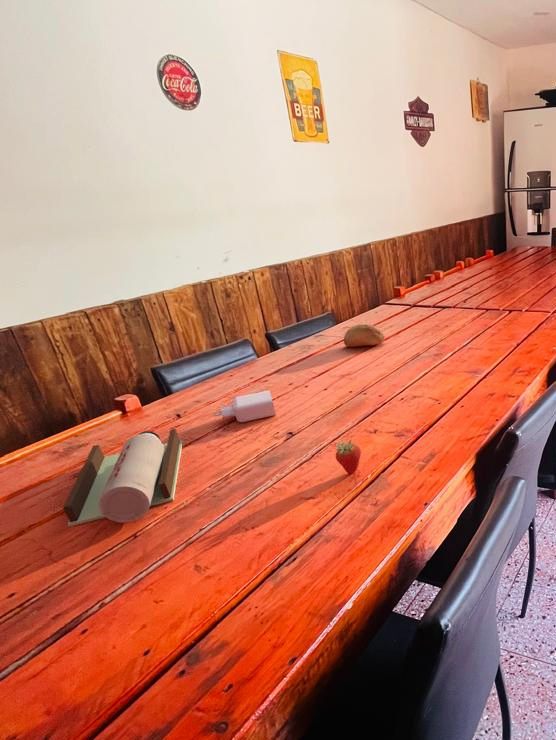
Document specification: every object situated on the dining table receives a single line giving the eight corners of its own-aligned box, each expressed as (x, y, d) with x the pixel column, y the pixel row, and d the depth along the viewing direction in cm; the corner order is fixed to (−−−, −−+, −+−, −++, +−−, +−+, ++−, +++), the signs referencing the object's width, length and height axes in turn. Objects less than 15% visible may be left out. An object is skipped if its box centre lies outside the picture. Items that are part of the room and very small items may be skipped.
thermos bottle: (108, 480, 93) (135, 419, 116) (91, 516, 94) (121, 448, 117) (156, 493, 97) (173, 431, 120) (139, 527, 98) (159, 459, 122)
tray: (68, 527, 98) (59, 509, 96) (98, 460, 121) (91, 445, 119) (173, 500, 104) (167, 483, 102) (182, 442, 127) (177, 427, 125)
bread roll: (384, 347, 187) (381, 326, 183) (343, 351, 185) (339, 330, 182) (385, 339, 196) (382, 319, 192) (345, 343, 194) (342, 322, 190)
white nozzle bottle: (215, 416, 140) (273, 404, 146) (216, 429, 132) (276, 416, 138) (210, 400, 138) (269, 388, 143) (211, 413, 130) (272, 400, 136)
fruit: (335, 472, 111) (328, 440, 107) (357, 463, 114) (351, 431, 110) (346, 481, 107) (339, 448, 104) (368, 471, 110) (363, 439, 107)
